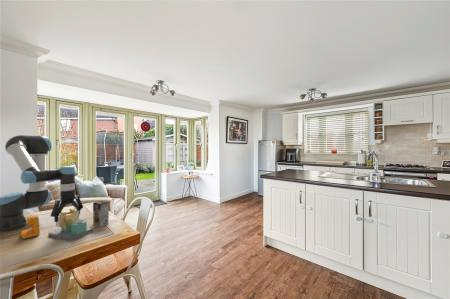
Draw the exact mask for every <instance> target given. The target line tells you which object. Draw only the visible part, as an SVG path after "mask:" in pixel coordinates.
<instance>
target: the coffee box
mask: <svg viewBox="0 0 450 299" xmlns="http://www.w3.org/2000/svg"><path fill="white" fill-rule="evenodd" d="M92 205H93V206H92V208H93V210H92V211H93V213H92V215H93V217H92V218H93V220H92V221H93V225H95V226H97V227H103V226H106V225H108V224H109V206H110V205H109V202H108V201H104V200H98V201H95V202H93V203H92Z"/></svg>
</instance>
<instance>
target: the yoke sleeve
mask: <svg viewBox="0 0 450 299" xmlns="http://www.w3.org/2000/svg"><path fill="white" fill-rule="evenodd" d="M75 210H76V208H70V209H69V210H68V211H65V210H62V211H61V213H60V214H59V216H60V227H59V228H61V227H62V228H68V227H71V224H73V222H75V221H77V212H75Z"/></svg>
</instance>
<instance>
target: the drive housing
mask: <svg viewBox="0 0 450 299" xmlns="http://www.w3.org/2000/svg"><path fill="white" fill-rule="evenodd" d="M87 222H88V221H85V219H84V217H83V218H82V217H81V218H79V220H77V221H75V222H73V224H71V227H68V228H62V227H60V228H58V229H56V230H53V231H51V232H48V237H50V238H56V239H60V240H65V241H70V242H71V241H72V242H73V241H74V240H76V239H79V238H81V237H84V236H85V235H88V234H90V233H92V232H93V231H94V228H93V227H88V225H87Z"/></svg>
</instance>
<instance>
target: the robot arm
mask: <svg viewBox="0 0 450 299" xmlns="http://www.w3.org/2000/svg"><path fill="white" fill-rule="evenodd" d="M52 146H53V145H52V142H51V140H50V138H49V137H48V136H44V135H22V134H21V135H20V134H18V135H15V136H13V137H11V138H9V139H8V140H7V141H6V142H5V146H4V148H5V152H7V154H9V155H11V157H12V158H13V159H14V161H15V163H16V164H17V166H18V167H19V168H20V170H21V173H20V180H21V183H23V184H28V188H27V189H26V191H25V193H23V192H22V191H18V192H9V193H8V194H4V195H1V196H0V232H10V231H13V230H18V229H21V228H23V227H25V226H28V223H27V219H26V217H25V215H24V210H29V209H34V208H39V207H44V206H47V205H48V204H49V203H50V201H51V198H52V194H51V191H50V190H49V189H48V187H46V186H45V185H46V184H45V183H46V182H51V181H52V182H53V181H59V182H60V184H59V187H60V189H59V190H60V191H59V193H60V194H59V195H60V196H59V197H60V199H55V200H54V204H53V208H52V211H51V213H50V217H52V218H54V219H53V220H54V222H55V227H57V228H61V227H60V216H59V214H60V213H61V211H64V210H63V209H64V208H65V207H66V206H67V205H72V206H73V208H74V209H75V212H77V220H79V219H80V215H81V210H82V209H83V208H84V205H83V203H82V201H81V197H80V195H77V194H76V183H75V182H76V168H75V166H74V165H65V166H60V167H56V168H50V169H46V156H47V155H48V154H49V152H50V151H52V148H53V147H52Z"/></svg>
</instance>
